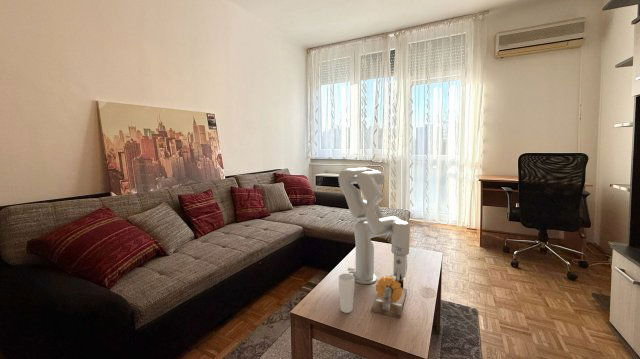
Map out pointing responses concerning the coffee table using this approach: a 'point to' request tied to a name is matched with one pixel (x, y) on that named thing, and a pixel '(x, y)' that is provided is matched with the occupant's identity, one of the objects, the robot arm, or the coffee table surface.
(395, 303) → the pipe stand
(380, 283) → the collar
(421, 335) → the coffee table surface
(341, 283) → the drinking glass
